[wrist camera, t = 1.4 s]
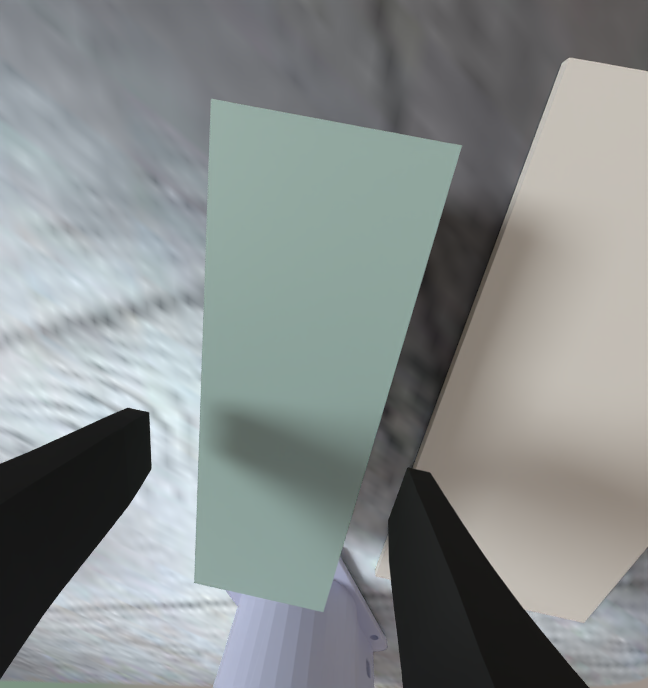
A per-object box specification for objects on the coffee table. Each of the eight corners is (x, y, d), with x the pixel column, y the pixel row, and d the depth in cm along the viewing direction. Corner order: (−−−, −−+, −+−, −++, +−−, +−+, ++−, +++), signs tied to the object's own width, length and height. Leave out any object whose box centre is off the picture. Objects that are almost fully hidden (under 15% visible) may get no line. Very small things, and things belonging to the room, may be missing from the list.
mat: (579, 614, 19) (583, 622, 19) (375, 569, 19) (375, 576, 19) (970, 136, 10) (994, 133, 9) (561, 63, 10) (570, 57, 10)
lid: (327, 573, 15) (323, 612, 14) (210, 547, 15) (194, 582, 14) (444, 156, 9) (461, 145, 7) (236, 117, 9) (210, 98, 7)
